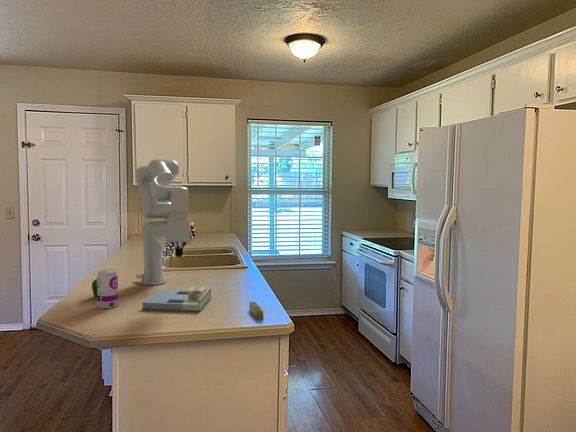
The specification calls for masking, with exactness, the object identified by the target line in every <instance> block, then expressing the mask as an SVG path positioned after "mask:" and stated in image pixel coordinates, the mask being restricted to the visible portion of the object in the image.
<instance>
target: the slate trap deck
mask: <svg viewBox="0 0 576 432" xmlns="http://www.w3.org/2000/svg"><path fill="white" fill-rule="evenodd" d="M211 299H212V287H208V289H207V290H206V292H205V293H204V294H203V295H202V296H201V297H200V298H199V300H188V290H171V289H170V290H169V289H166V290H165V289H158V290H157V291H156V292H155V293H153V294H152V295H151V296H149V297H148V298H147V299H145V300H144V301H143V302H142V310H144V311H165V312H167V311H170V312H190V313H191V312H193V313H194V312H195V313H196V312H197V313H200V312H202V310H203V309H204V308H205V307H206V305H207V304H208V303H209V302H210V300H211Z"/></svg>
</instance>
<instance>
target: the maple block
mask: <svg viewBox="0 0 576 432" xmlns="http://www.w3.org/2000/svg"><path fill="white" fill-rule="evenodd" d="M187 291H188V300H199V298H200V297H201V296H202V295H203V294H204V293H205V292H206V291H207V290H206V286H204V287H202V286H201V287H200V286H191V287H190V288H189V289H188V290H187Z"/></svg>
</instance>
